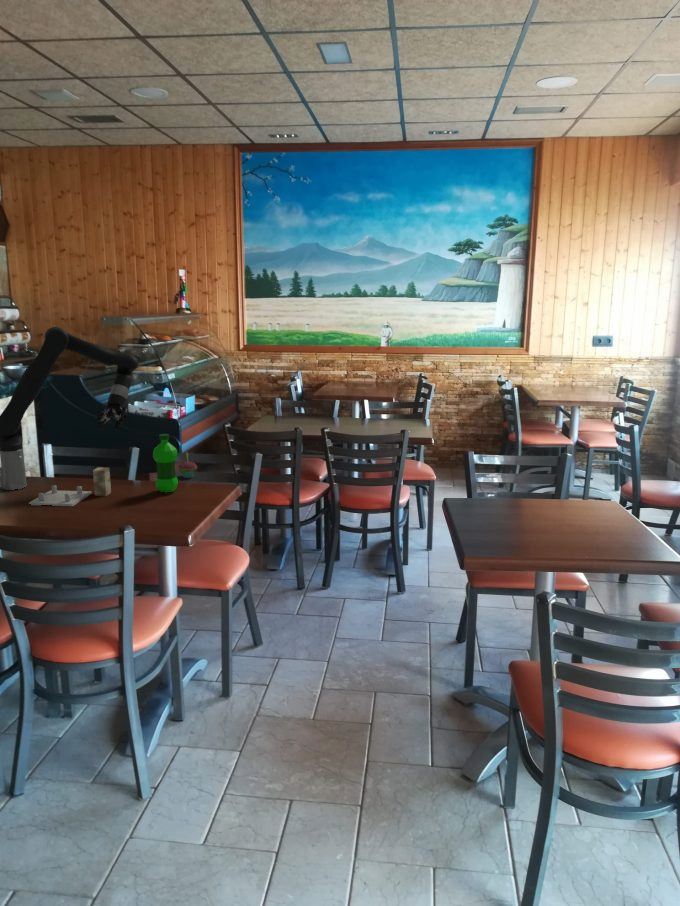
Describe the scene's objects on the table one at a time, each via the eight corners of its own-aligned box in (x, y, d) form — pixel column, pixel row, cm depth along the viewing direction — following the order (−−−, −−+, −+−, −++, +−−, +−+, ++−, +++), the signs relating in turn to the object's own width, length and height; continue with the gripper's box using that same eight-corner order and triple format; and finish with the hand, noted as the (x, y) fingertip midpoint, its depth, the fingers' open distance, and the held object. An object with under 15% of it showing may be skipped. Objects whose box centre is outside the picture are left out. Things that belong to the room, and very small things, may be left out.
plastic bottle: (159, 487, 299) (156, 432, 294) (182, 488, 298) (180, 432, 293) (151, 494, 290) (147, 436, 284) (175, 495, 289) (172, 437, 283)
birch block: (94, 495, 288) (92, 470, 285) (99, 492, 293) (97, 467, 290) (106, 495, 287) (104, 470, 285) (111, 492, 292) (109, 467, 290)
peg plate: (29, 505, 274) (28, 495, 273) (50, 492, 292) (49, 483, 291) (72, 506, 273) (71, 496, 272) (91, 493, 290) (90, 484, 289)
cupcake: (178, 475, 321) (177, 450, 318) (196, 473, 324) (195, 449, 321) (179, 479, 313) (178, 454, 310) (198, 478, 316) (197, 453, 313)
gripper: (100, 393, 300) (89, 427, 294) (125, 392, 294) (115, 426, 288) (111, 401, 306) (101, 434, 300) (136, 400, 301) (126, 433, 295)
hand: (108, 430), depth 294 cm, fingers open, 8 cm apart
